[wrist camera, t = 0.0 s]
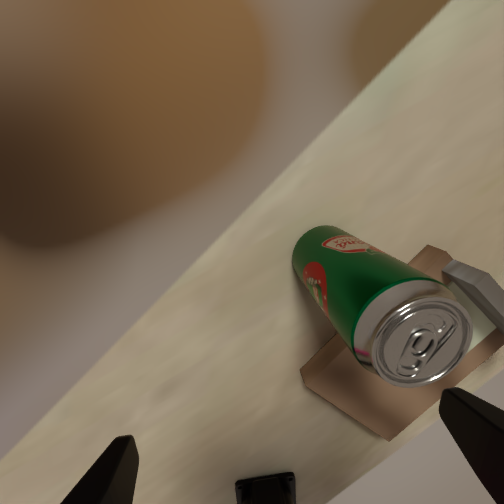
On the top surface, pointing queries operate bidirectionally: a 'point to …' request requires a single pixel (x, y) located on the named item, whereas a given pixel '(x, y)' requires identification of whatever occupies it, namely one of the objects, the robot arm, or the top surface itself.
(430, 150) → the top surface
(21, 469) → the top surface
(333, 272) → the soda can
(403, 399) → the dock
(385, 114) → the top surface
